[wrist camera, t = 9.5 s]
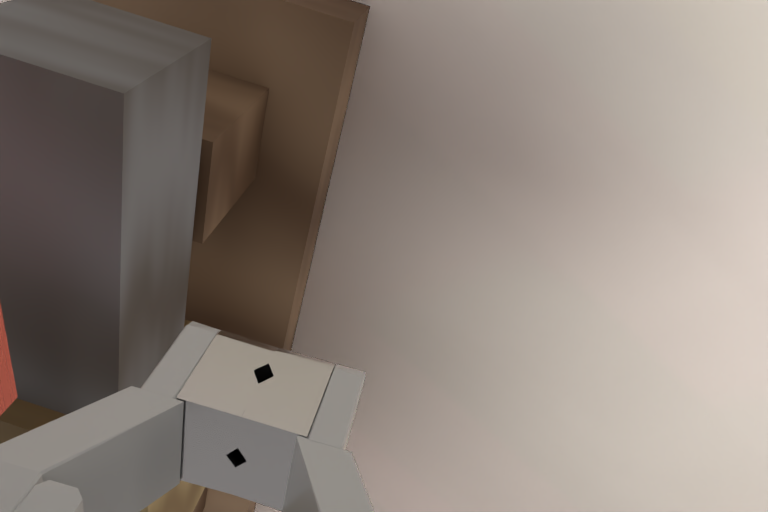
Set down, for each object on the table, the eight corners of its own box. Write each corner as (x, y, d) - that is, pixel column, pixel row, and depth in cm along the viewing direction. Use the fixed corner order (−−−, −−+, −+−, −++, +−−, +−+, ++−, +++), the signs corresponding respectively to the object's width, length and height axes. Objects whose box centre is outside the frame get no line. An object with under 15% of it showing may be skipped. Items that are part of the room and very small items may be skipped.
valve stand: (253, 513, 33) (137, 797, 24) (106, 465, 34) (-71, 727, 24) (369, 6, 19) (192, 193, 9) (109, -76, 19) (-350, 19, 9)
